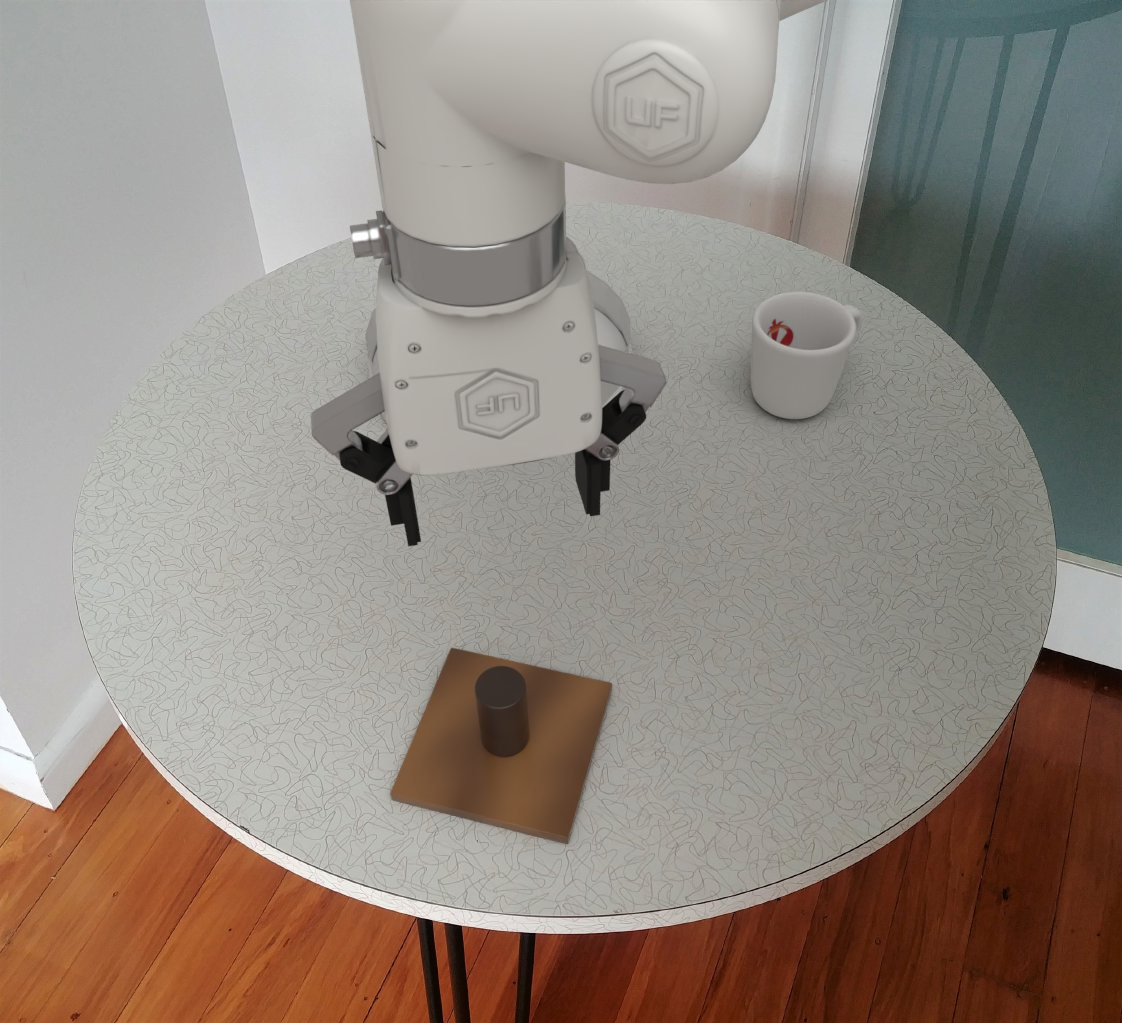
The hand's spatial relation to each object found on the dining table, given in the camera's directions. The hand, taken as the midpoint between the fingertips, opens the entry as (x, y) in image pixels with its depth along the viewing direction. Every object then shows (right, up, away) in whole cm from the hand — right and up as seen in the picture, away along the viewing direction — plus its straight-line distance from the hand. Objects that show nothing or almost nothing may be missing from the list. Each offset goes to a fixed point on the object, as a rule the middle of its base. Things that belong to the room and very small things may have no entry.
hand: (500, 511), depth 57 cm
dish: (-2, +12, +33) cm, 35 cm away
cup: (+23, +10, +31) cm, 40 cm away
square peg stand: (0, -14, +9) cm, 17 cm away
